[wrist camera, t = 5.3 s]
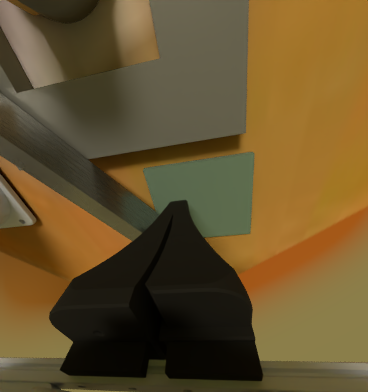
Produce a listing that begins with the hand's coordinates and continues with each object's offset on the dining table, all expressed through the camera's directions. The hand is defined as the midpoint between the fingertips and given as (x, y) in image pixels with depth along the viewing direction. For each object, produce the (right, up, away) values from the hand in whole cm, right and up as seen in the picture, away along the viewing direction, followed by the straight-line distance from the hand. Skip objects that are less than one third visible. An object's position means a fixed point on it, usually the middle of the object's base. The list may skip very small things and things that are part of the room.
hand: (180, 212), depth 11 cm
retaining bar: (-5, +2, 0) cm, 6 cm away
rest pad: (+2, +1, +2) cm, 3 cm away
